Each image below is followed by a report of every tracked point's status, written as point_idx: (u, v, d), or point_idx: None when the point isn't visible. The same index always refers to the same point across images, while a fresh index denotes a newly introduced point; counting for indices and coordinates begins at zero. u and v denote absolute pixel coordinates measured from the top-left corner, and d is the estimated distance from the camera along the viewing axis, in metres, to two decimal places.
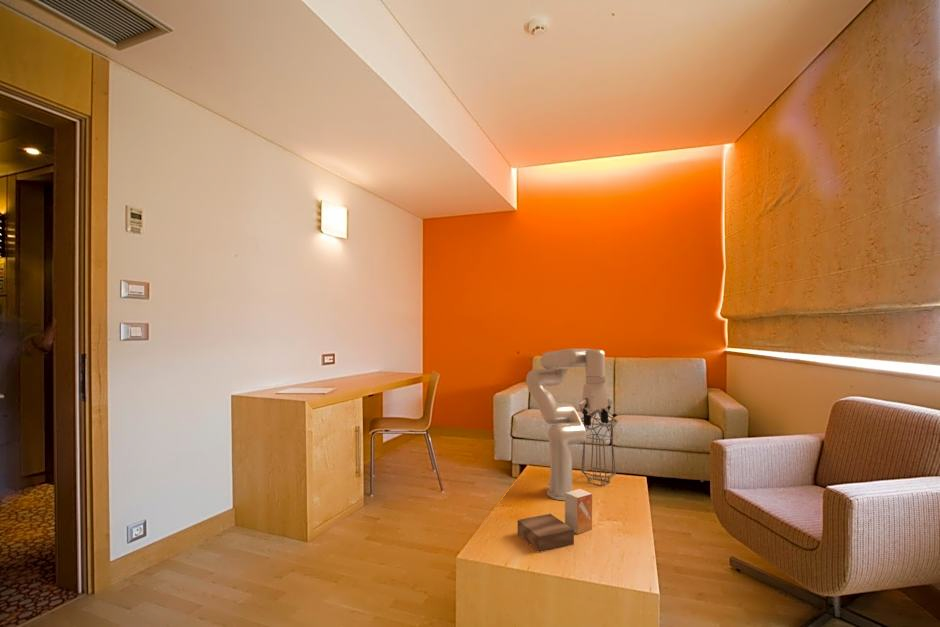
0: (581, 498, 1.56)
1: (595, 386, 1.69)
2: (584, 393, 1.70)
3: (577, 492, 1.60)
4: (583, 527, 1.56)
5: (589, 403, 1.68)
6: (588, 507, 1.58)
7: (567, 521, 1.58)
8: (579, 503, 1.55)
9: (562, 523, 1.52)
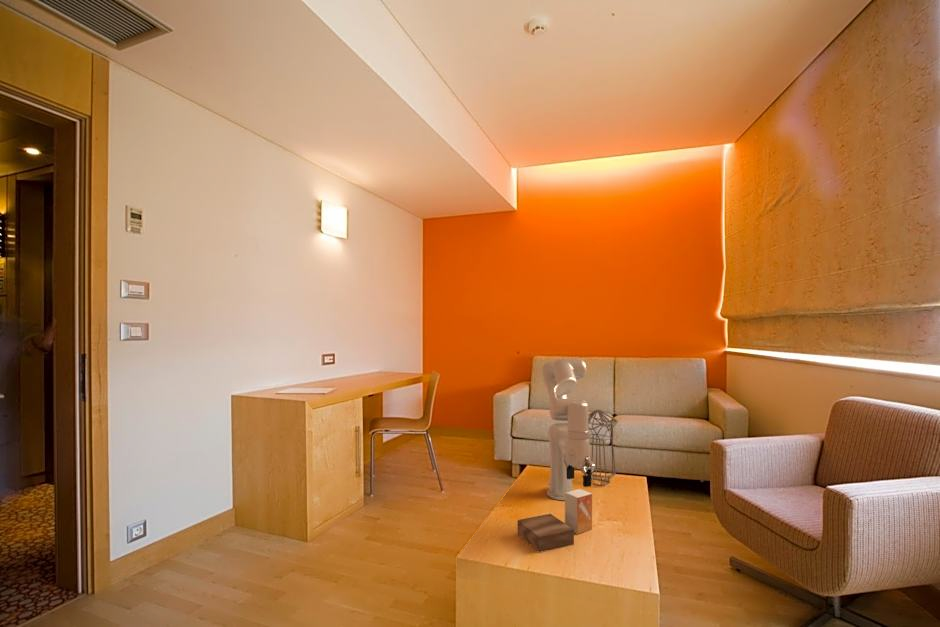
0: (581, 498, 1.56)
1: None
2: (584, 452, 1.55)
3: (577, 492, 1.60)
4: (583, 527, 1.56)
5: None
6: (588, 507, 1.58)
7: (567, 521, 1.58)
8: (579, 503, 1.55)
9: (562, 523, 1.52)
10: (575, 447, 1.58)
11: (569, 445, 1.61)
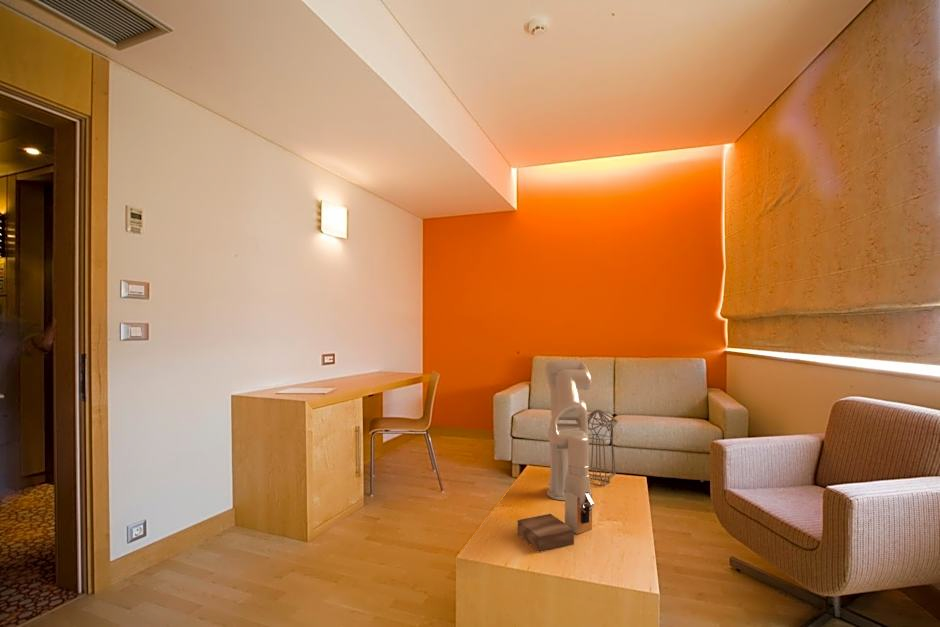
0: None
1: None
2: (584, 487, 1.55)
3: None
4: (583, 527, 1.56)
5: (590, 497, 1.56)
6: None
7: (567, 521, 1.58)
8: None
9: (562, 523, 1.52)
10: (575, 482, 1.57)
11: (569, 479, 1.60)
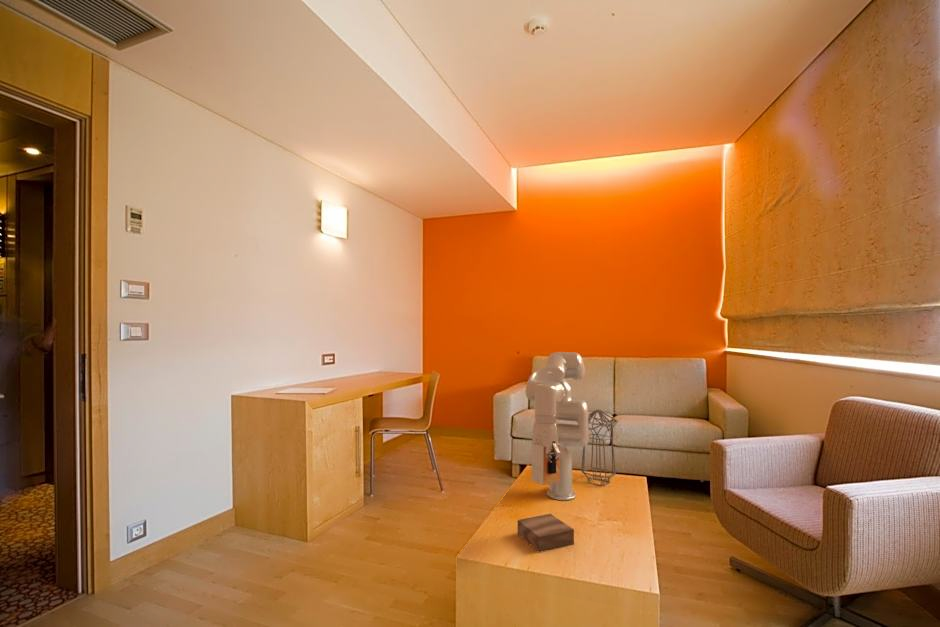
0: None
1: None
2: (550, 436, 1.48)
3: None
4: (550, 478, 1.49)
5: (557, 446, 1.49)
6: None
7: (533, 472, 1.51)
8: None
9: (562, 523, 1.52)
10: (541, 431, 1.50)
11: (536, 429, 1.53)
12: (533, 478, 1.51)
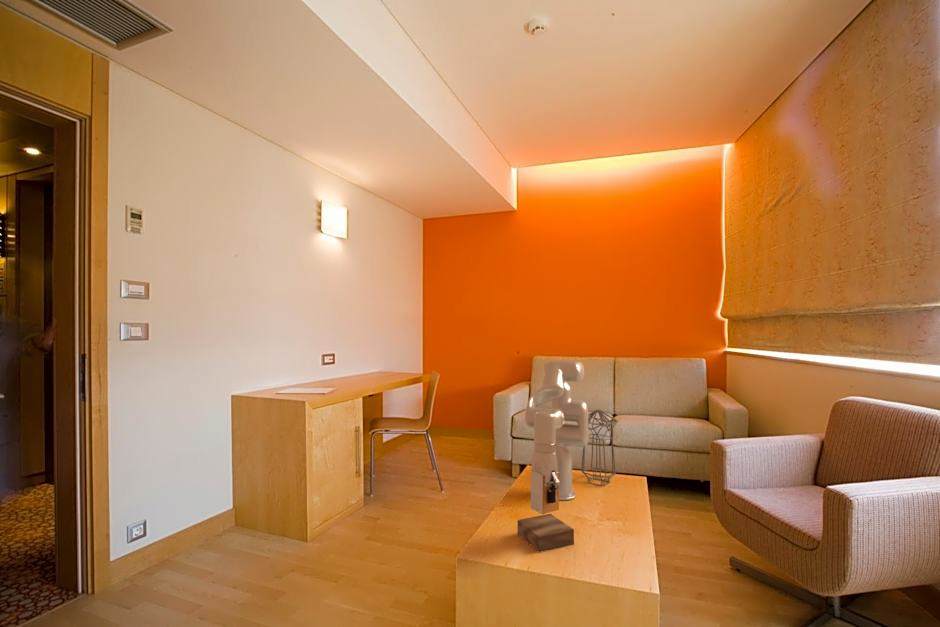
0: None
1: None
2: (549, 465, 1.47)
3: None
4: (549, 507, 1.48)
5: (556, 475, 1.48)
6: None
7: (533, 501, 1.50)
8: None
9: (562, 523, 1.52)
10: (540, 460, 1.49)
11: (535, 458, 1.52)
12: (532, 507, 1.51)
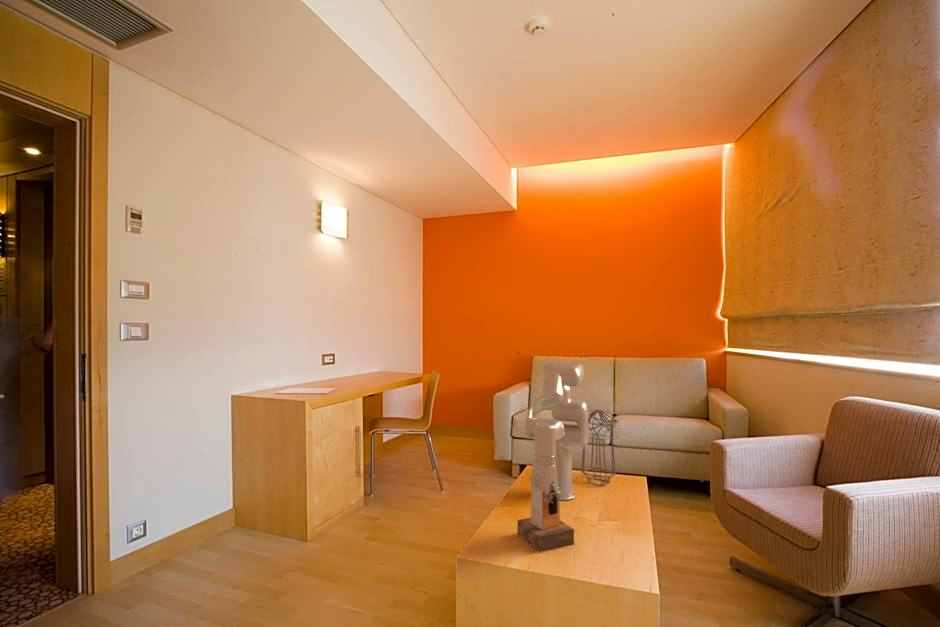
0: None
1: None
2: (550, 477, 1.47)
3: None
4: (549, 523, 1.48)
5: None
6: None
7: (533, 516, 1.50)
8: (545, 497, 1.47)
9: (562, 523, 1.52)
10: (541, 472, 1.49)
11: (535, 469, 1.52)
12: (532, 522, 1.51)
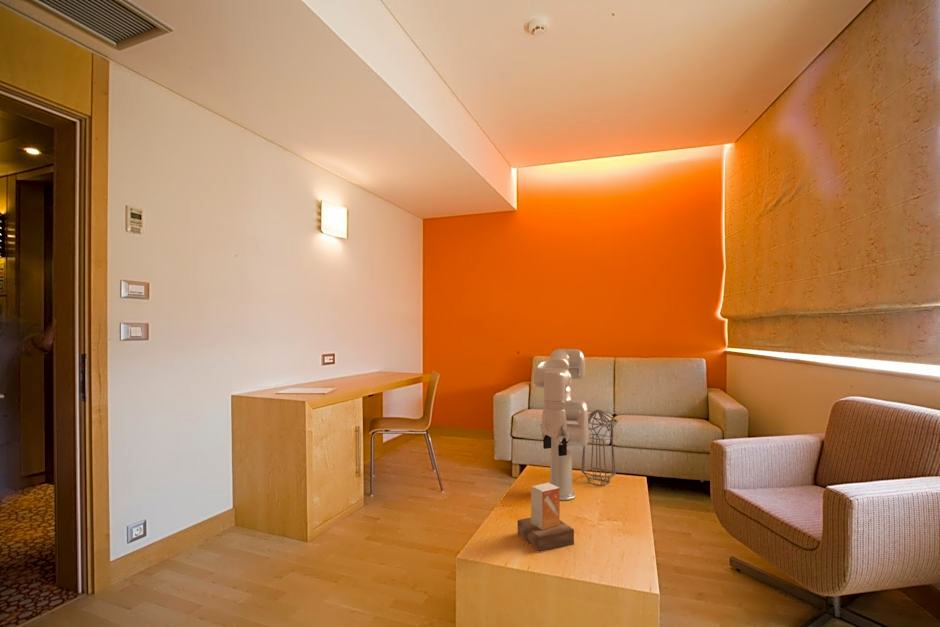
0: (547, 492, 1.48)
1: None
2: (559, 421, 1.53)
3: (544, 486, 1.52)
4: (549, 523, 1.48)
5: None
6: (555, 502, 1.50)
7: (533, 516, 1.50)
8: (545, 497, 1.47)
9: (562, 523, 1.52)
10: (550, 416, 1.55)
11: (545, 415, 1.58)
12: (532, 522, 1.51)
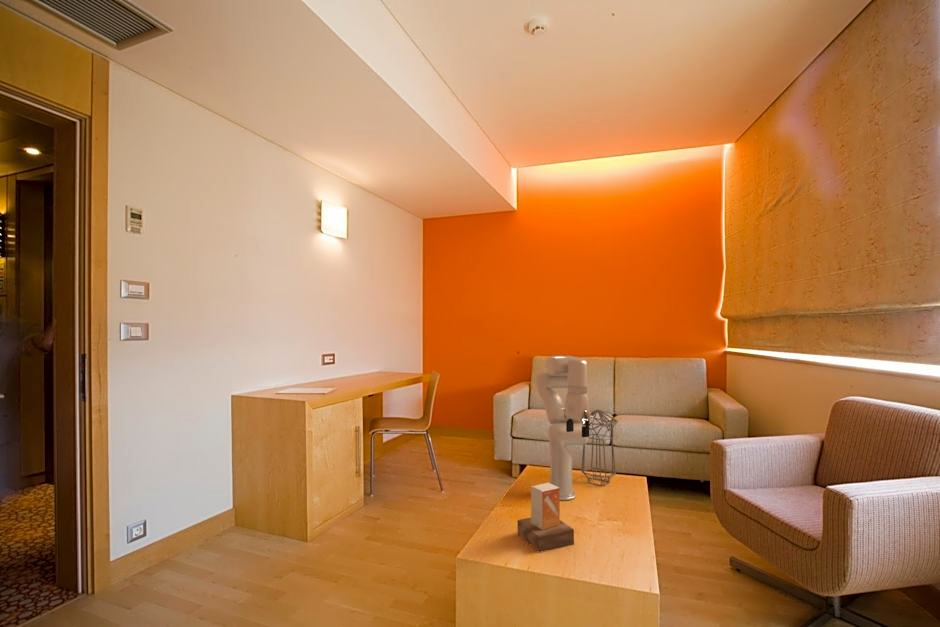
0: (547, 492, 1.48)
1: None
2: (582, 405, 1.66)
3: (544, 486, 1.52)
4: (549, 523, 1.48)
5: None
6: (555, 502, 1.50)
7: (533, 516, 1.50)
8: (545, 497, 1.47)
9: (562, 523, 1.52)
10: (574, 401, 1.68)
11: (569, 400, 1.71)
12: (532, 522, 1.51)
